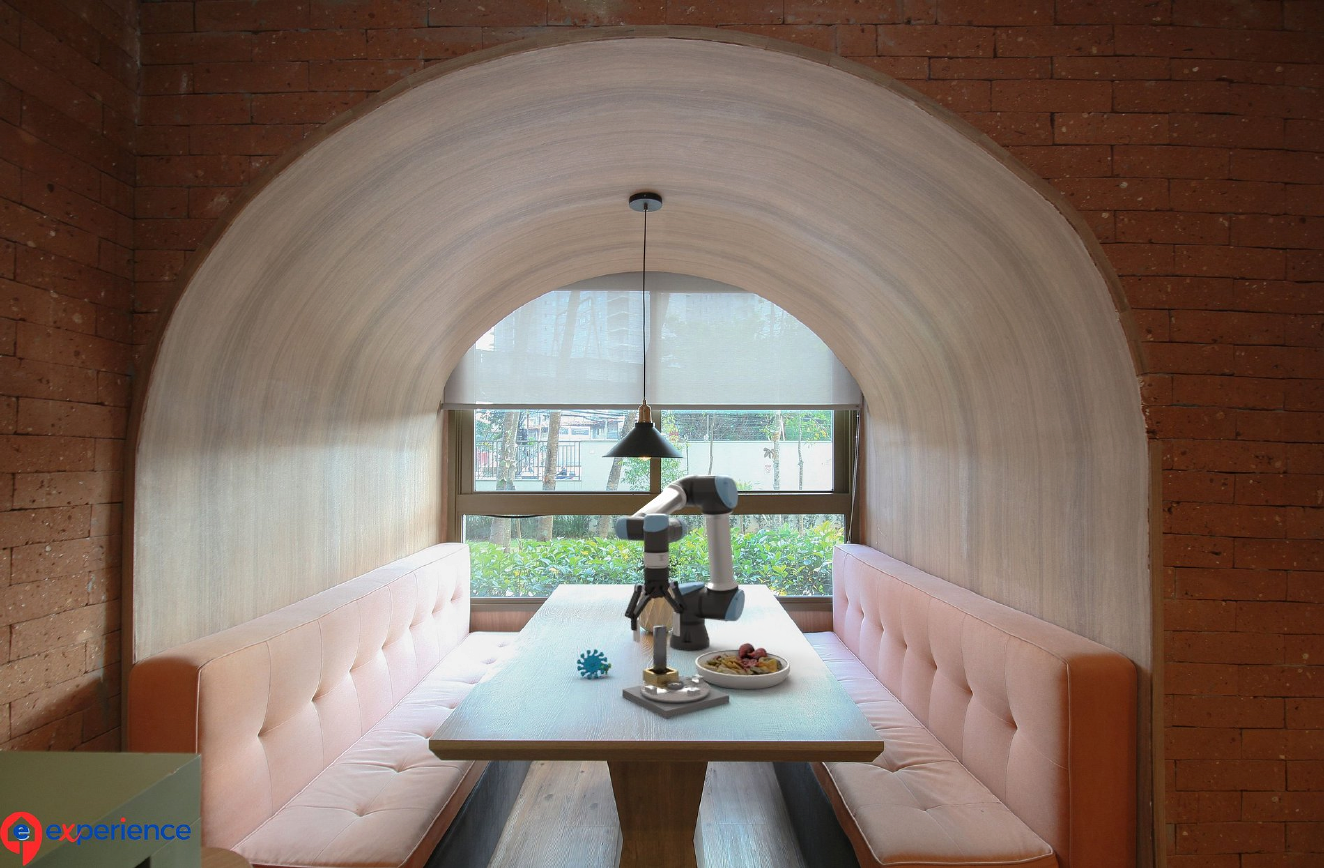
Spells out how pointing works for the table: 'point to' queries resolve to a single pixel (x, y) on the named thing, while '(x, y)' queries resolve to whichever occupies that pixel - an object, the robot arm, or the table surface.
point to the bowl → (743, 668)
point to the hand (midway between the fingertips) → (656, 638)
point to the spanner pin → (659, 649)
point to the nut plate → (675, 708)
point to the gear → (593, 664)
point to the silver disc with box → (673, 687)
